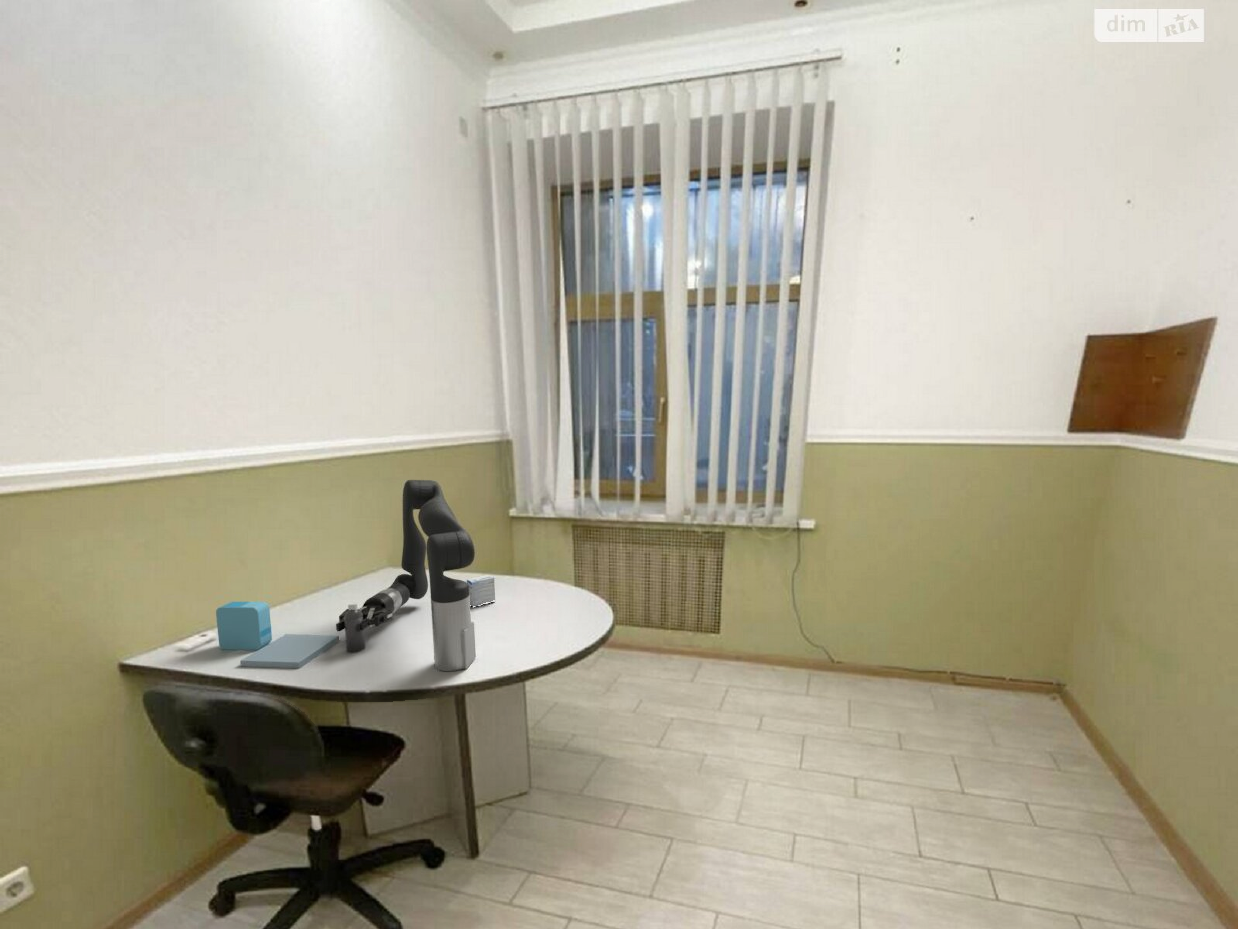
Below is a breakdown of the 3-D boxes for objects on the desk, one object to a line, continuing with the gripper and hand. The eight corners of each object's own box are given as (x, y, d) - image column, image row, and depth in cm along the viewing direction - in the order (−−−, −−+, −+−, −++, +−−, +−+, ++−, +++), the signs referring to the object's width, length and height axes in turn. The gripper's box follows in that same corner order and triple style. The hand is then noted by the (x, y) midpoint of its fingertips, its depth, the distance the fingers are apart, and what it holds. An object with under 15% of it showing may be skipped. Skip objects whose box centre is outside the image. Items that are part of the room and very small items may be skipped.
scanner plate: (339, 640, 148) (339, 635, 148) (299, 668, 132) (299, 662, 132) (286, 639, 150) (286, 634, 150) (240, 666, 134) (240, 660, 134)
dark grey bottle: (368, 646, 144) (365, 601, 143) (358, 653, 140) (355, 607, 139) (353, 645, 145) (349, 601, 143) (343, 652, 140) (339, 607, 139)
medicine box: (489, 599, 179) (488, 574, 178) (495, 602, 175) (494, 577, 175) (467, 605, 174) (466, 579, 173) (473, 608, 170) (472, 582, 170)
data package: (273, 643, 147) (269, 601, 146) (260, 650, 143) (257, 607, 142) (232, 642, 148) (228, 601, 147) (219, 650, 144) (214, 607, 143)
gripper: (359, 592, 156) (321, 614, 139) (405, 592, 155) (372, 615, 138) (361, 616, 157) (323, 641, 140) (407, 617, 155) (374, 642, 139)
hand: (348, 628), depth 139 cm, fingers open, 5 cm apart
